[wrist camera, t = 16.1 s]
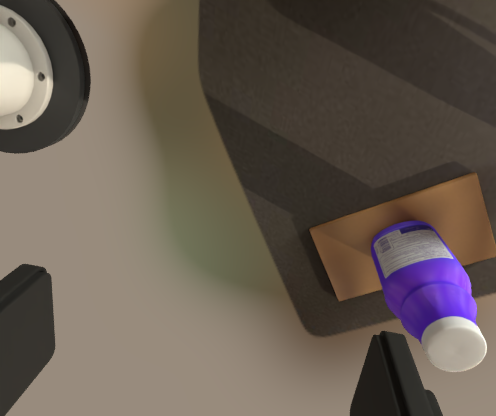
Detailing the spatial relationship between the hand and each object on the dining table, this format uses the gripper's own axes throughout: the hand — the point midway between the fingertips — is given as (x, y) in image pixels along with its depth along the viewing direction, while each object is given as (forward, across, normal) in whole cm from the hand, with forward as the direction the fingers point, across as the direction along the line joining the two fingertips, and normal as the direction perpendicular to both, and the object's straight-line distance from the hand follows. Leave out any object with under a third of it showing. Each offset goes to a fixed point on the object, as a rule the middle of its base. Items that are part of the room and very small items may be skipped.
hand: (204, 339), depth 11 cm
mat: (+33, -16, +10) cm, 38 cm away
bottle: (+33, -16, +10) cm, 38 cm away
